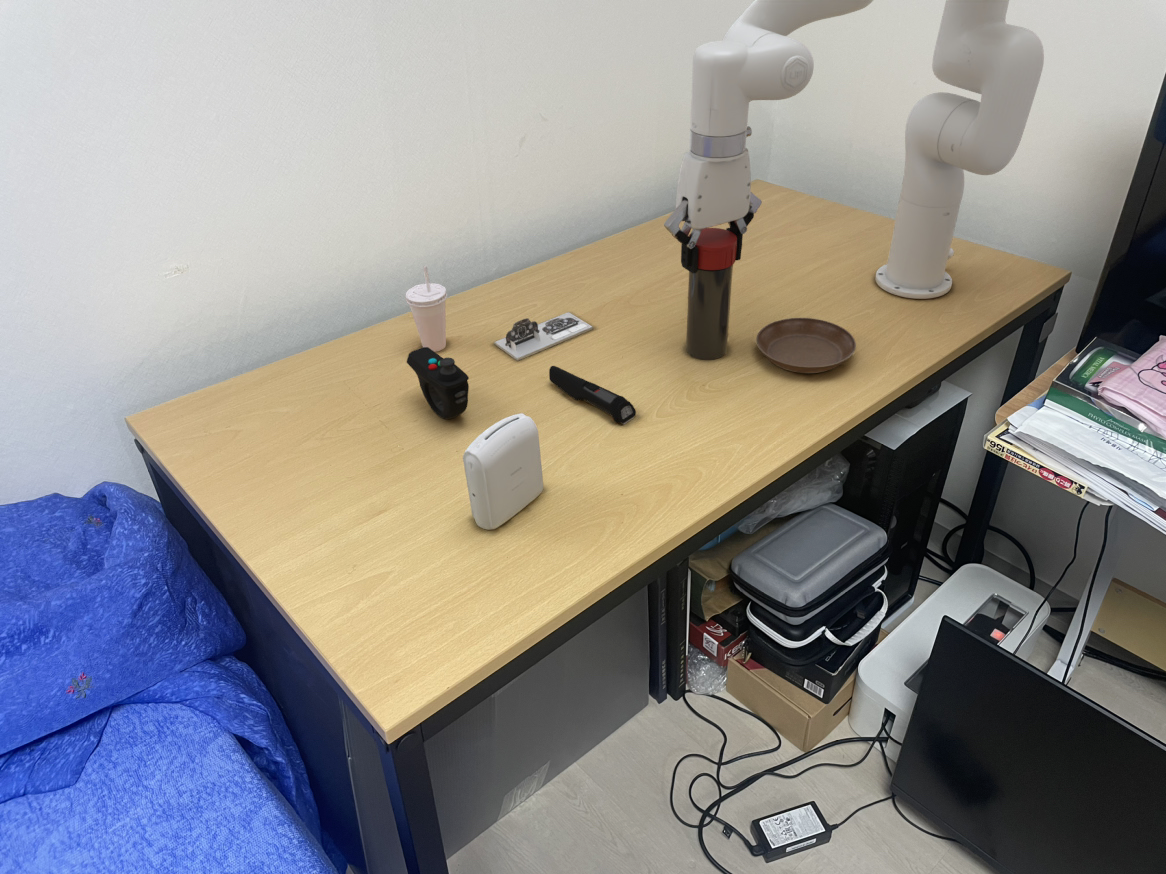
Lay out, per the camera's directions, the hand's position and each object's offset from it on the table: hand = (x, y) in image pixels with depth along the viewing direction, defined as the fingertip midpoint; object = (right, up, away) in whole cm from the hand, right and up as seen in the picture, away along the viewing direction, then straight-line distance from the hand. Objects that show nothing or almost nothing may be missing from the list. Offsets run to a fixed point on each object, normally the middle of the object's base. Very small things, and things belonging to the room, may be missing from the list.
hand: (711, 262), depth 128 cm
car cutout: (-25, -10, +14) cm, 30 cm away
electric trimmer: (-18, -21, -2) cm, 27 cm away
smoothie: (-43, -11, +13) cm, 46 cm away
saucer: (+15, -13, +6) cm, 21 cm away
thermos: (+1, -12, +9) cm, 15 cm away
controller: (-39, -22, -2) cm, 45 cm away
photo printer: (-28, -35, -19) cm, 49 cm away
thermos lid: (0, 0, 0) cm, 0 cm away
